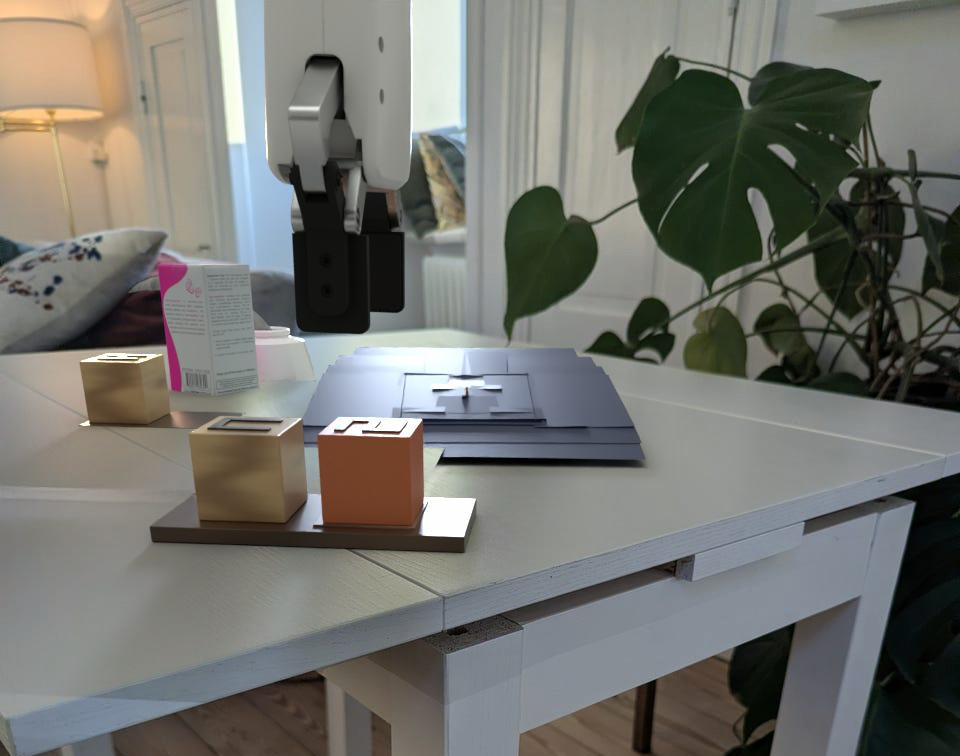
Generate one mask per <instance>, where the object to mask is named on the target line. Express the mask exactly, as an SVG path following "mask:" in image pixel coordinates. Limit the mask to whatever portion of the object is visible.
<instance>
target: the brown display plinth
mask: <svg viewBox="0 0 960 756" xmlns="http://www.w3.org/2000/svg"><path fill="white" fill-rule="evenodd" d="M302 419H303V417H277V416H276V417H271V416H240V417H239V416H219V417H217V418H215V419H214V420H212V421H210V422H208V423H207V424H205V425H203V426H201V427H200V428H198V429H193V430H192V431H191V432H189V433H188V440H189V451H190V457H191V467H192V474H193V483H194V484H193V485H194V493H193V494H191V495H190V496H189V497H188V498H186V499H185V500H183V501H182V502H180V503H179V504H178V505H176V506H175V507H174V508H173V509H171V510H170V511H168V512H167V513H166V514H165V515H163V516H162V517H160V518H159V519H157V521H155V522H153V523H152V524H151V525H149V533H150V540H151V542H166V543H190V544H191V543H192V544H217V545H218V544H219V545H220V544H221V545H246V544H248V545H247V546H249V545H250V546H251V545H252V546H274V547H275V546H276V547H278V546H280V547H304V548H305V547H307V548H309V547H310V548H335V549H337V548H338V549H360V550H361V549H362V550H363V549H364V550H388V551H389V550H393V551H415V552H416V551H417V552H418V551H421V552H444V553H445V552H447V553H448V552H449V553H465V551H466V548H467V544H468V540H469V537H470V534H471V531H472V528H473V526H474V525H473V524H474V521H475V518H476V515H477V502H478V501H477V499H476V498H457V497H456V498H455V497H426V496H424V502H423V504H422V506H421V508H420V510H419V512H418V514H417V516H416V518H415V520H414V522H413V524H412V525H411V526H404V525H374V524H343V523H323V520H322V504H321V493H308V481H307V467H306V466H307V465H306V451H305V447H304V436H303V422H302Z"/></svg>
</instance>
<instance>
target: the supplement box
mask: <svg viewBox="0 0 960 756" xmlns="http://www.w3.org/2000/svg"><path fill="white" fill-rule="evenodd" d="M250 271H251V270H250V264H248V263H247V264H246V263H218V262H217V263H213V262H212V263H211V262H209V263H208V262H204V263H203V262H202V263H201V262H200V263H158V264H157V273H158V276H159V282H160V290H159V291H160V298H161V308H162V318H163V326H164V334H165V343H166V353H167V362H168V371H169V380H170V390H171V391H175V392H180V393H181V392H182V393H189V394H196V395H203V396H212V397H218V396H223V395H227V394H228V395H229V394H233V393H238V392H239V393H240V392H243V391H244V392H245V391H250V390H254V389H255V390H256V389H259V388H260V381H258V369H257V356H256V344H255V332H254V319H253V311H254V306H253V297H252V296H253V295H252V286H251V285H252V283H251V273H250Z"/></svg>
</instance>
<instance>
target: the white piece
mask: <svg viewBox="0 0 960 756" xmlns="http://www.w3.org/2000/svg"><path fill="white" fill-rule="evenodd" d="M142 291H160V282H159V275H157V276H153V277H150V278H147V279H145V280H143V281H140V282H138V283H137V284H135V285H134V286H133V287H132V288H131V289H130V290H129V291H128V294H132V293H137V292H142ZM253 319H254V332H255V344H256V356H257V369H258V381H259V382H271V381H272V382H275V381H277V382H278V381H291V382H294V381H295V382H316V381H317V376H316V373H315V369H314V366H313V363H312V360H311V357H310V353H309V351H308V348H307V344H306V343H305V339H304V338H302V337H299V336H294V335H290V334H291V330H290V328H289V327H285V326H272V325H271V326H270V325H269V324H267V322H266V321H265V320H264V319H263V317H262V316H261V315H259V313H257V312H256V311H255V310H253Z"/></svg>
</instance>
